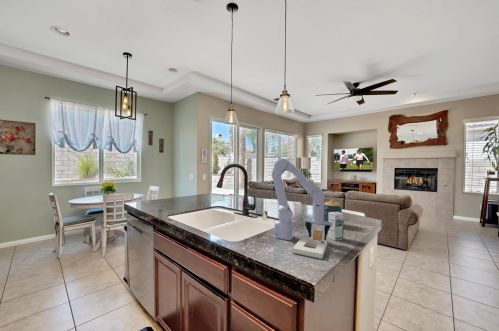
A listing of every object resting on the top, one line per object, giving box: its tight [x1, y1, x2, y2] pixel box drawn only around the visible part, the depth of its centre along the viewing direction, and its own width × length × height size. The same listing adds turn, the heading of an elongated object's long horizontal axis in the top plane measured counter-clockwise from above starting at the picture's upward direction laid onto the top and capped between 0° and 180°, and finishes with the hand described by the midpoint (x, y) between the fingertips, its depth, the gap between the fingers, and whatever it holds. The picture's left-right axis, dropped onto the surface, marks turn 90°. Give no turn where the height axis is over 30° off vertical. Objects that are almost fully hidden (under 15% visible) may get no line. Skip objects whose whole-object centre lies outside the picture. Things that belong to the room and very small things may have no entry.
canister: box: [323, 198, 343, 221], centre depth 145 cm, size 13×13×18 cm
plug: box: [312, 228, 323, 241], centre depth 113 cm, size 4×6×6 cm
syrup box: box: [327, 212, 345, 241], centre depth 118 cm, size 6×6×14 cm
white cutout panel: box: [292, 237, 328, 260], centre depth 102 cm, size 13×16×3 cm
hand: (317, 238), depth 113 cm, fingers open, 7 cm apart
